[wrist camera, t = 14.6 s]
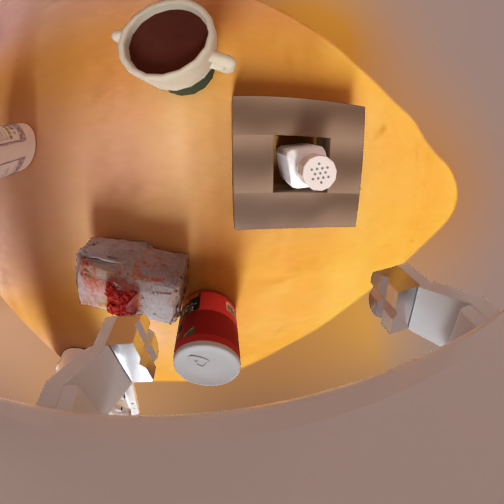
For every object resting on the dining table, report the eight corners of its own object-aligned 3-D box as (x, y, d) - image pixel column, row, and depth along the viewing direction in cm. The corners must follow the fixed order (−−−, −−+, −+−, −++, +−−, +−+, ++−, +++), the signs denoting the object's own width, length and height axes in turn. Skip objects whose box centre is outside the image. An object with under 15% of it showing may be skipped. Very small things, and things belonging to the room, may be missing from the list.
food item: (97, 277, 35) (70, 320, 26) (95, 226, 32) (60, 261, 23) (186, 293, 37) (178, 342, 28) (193, 242, 34) (183, 283, 25)
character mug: (244, 60, 25) (258, 18, 13) (219, 112, 27) (215, 101, 16) (158, 35, 22) (123, -10, 10) (133, 87, 25) (82, 67, 13)
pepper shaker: (311, 173, 32) (342, 191, 23) (279, 178, 32) (301, 198, 23) (307, 141, 30) (338, 148, 21) (274, 146, 30) (294, 153, 21)
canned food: (189, 281, 36) (180, 336, 27) (244, 297, 38) (251, 354, 29) (176, 321, 39) (167, 377, 29) (225, 335, 41) (228, 391, 31)
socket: (340, 214, 34) (355, 226, 30) (233, 216, 33) (234, 230, 29) (347, 108, 28) (364, 106, 24) (231, 100, 27) (232, 95, 23)
